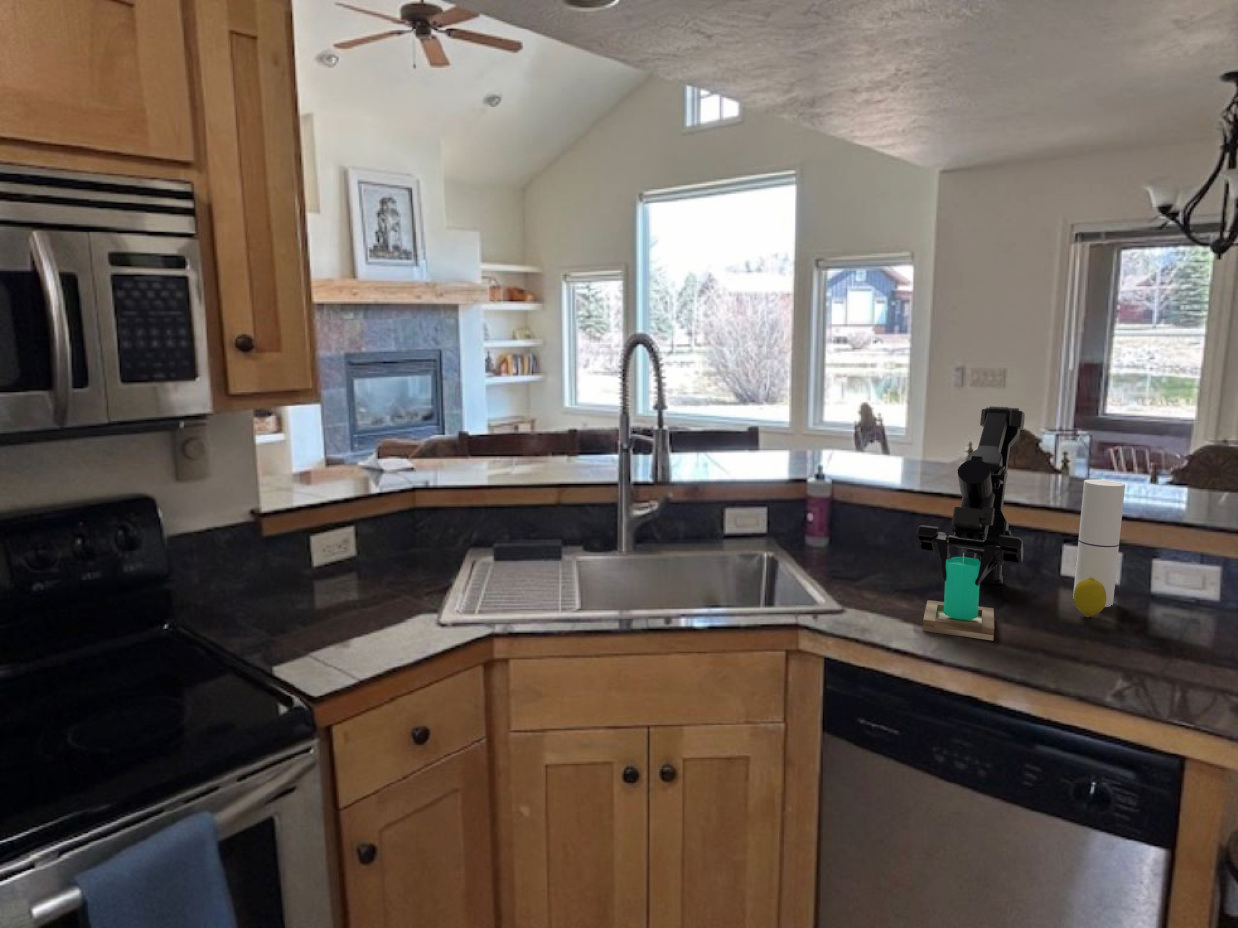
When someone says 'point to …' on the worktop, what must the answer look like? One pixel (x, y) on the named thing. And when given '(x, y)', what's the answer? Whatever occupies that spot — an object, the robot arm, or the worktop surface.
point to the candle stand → (959, 622)
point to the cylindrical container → (1100, 533)
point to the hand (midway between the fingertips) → (960, 582)
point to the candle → (961, 588)
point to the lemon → (1089, 596)
